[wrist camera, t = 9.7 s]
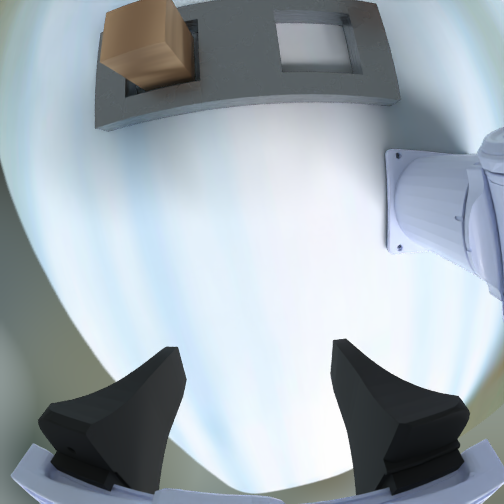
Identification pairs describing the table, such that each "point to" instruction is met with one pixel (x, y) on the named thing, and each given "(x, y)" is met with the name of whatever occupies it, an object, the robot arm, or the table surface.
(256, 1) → the grey slotted board
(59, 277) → the table surface
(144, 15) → the walnut peg
